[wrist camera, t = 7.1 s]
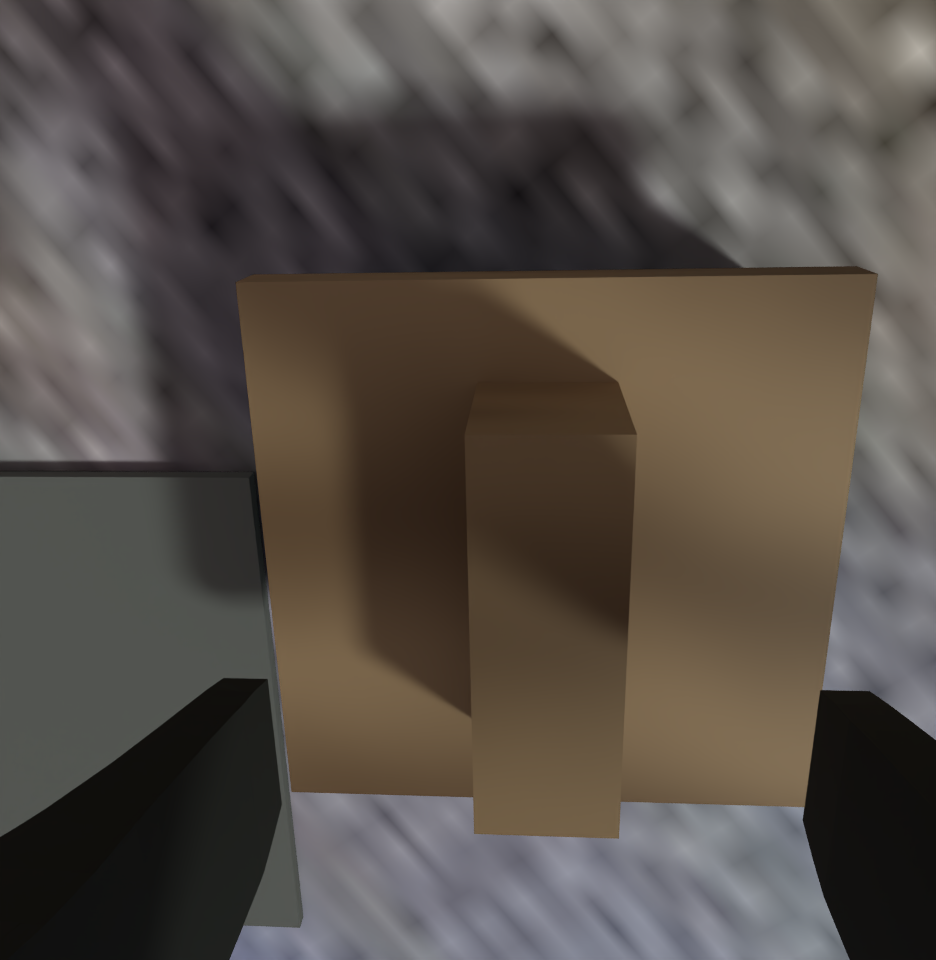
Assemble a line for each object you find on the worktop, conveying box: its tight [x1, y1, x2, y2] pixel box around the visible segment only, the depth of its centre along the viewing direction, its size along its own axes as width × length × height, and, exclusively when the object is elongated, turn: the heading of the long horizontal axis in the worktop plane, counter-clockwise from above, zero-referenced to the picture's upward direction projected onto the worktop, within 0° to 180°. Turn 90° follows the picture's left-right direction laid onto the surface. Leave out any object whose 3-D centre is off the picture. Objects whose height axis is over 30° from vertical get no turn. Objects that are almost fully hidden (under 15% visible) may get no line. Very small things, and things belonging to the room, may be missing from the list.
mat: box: [0, 471, 303, 928], centre depth 24 cm, size 14×14×1 cm
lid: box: [236, 266, 878, 838], centre depth 16 cm, size 10×10×4 cm
